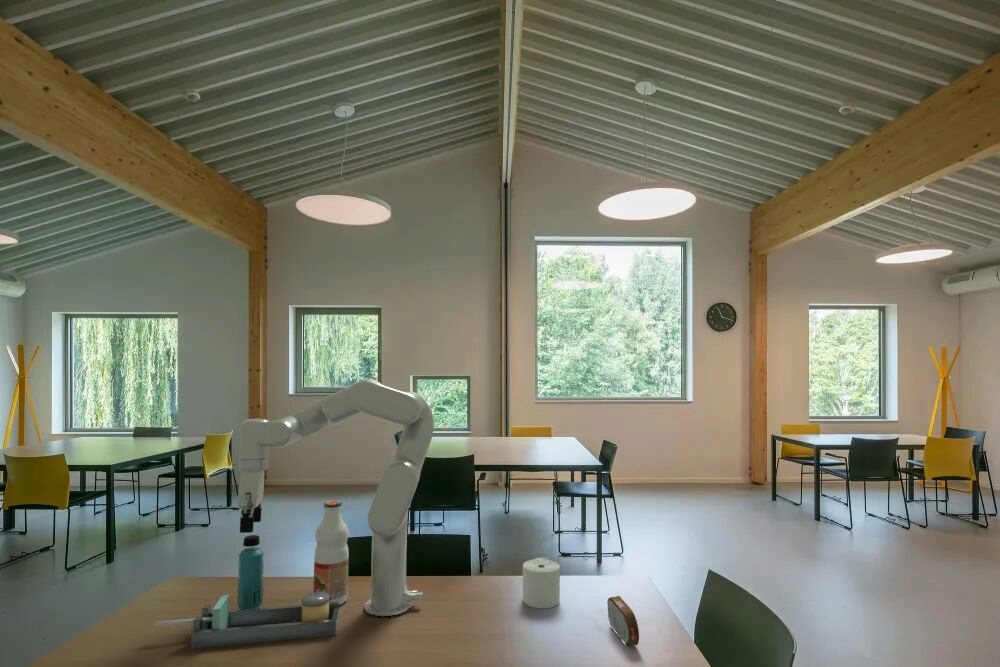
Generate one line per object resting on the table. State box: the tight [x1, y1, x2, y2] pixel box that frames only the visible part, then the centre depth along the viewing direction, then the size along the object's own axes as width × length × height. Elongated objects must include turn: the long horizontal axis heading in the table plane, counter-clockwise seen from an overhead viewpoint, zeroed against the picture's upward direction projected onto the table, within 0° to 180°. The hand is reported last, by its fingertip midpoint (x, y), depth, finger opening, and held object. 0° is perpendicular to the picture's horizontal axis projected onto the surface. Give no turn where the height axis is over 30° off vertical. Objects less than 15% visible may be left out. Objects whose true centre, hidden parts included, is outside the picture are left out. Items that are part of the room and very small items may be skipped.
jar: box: [301, 592, 330, 622], centre depth 144 cm, size 7×7×8 cm
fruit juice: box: [312, 499, 349, 606], centre depth 160 cm, size 9×9×28 cm
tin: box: [606, 595, 640, 647], centre depth 140 cm, size 15×3×8 cm, turn 9°
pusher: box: [153, 594, 230, 629], centre depth 138 cm, size 16×8×8 cm, turn 102°
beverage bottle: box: [236, 534, 265, 610], centre depth 153 cm, size 6×7×20 cm
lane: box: [190, 602, 340, 649], centre depth 142 cm, size 33×11×6 cm, turn 102°
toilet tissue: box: [522, 556, 561, 609], centre depth 161 cm, size 11×12×10 cm
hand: (250, 526), depth 154 cm, fingers open, 9 cm apart
